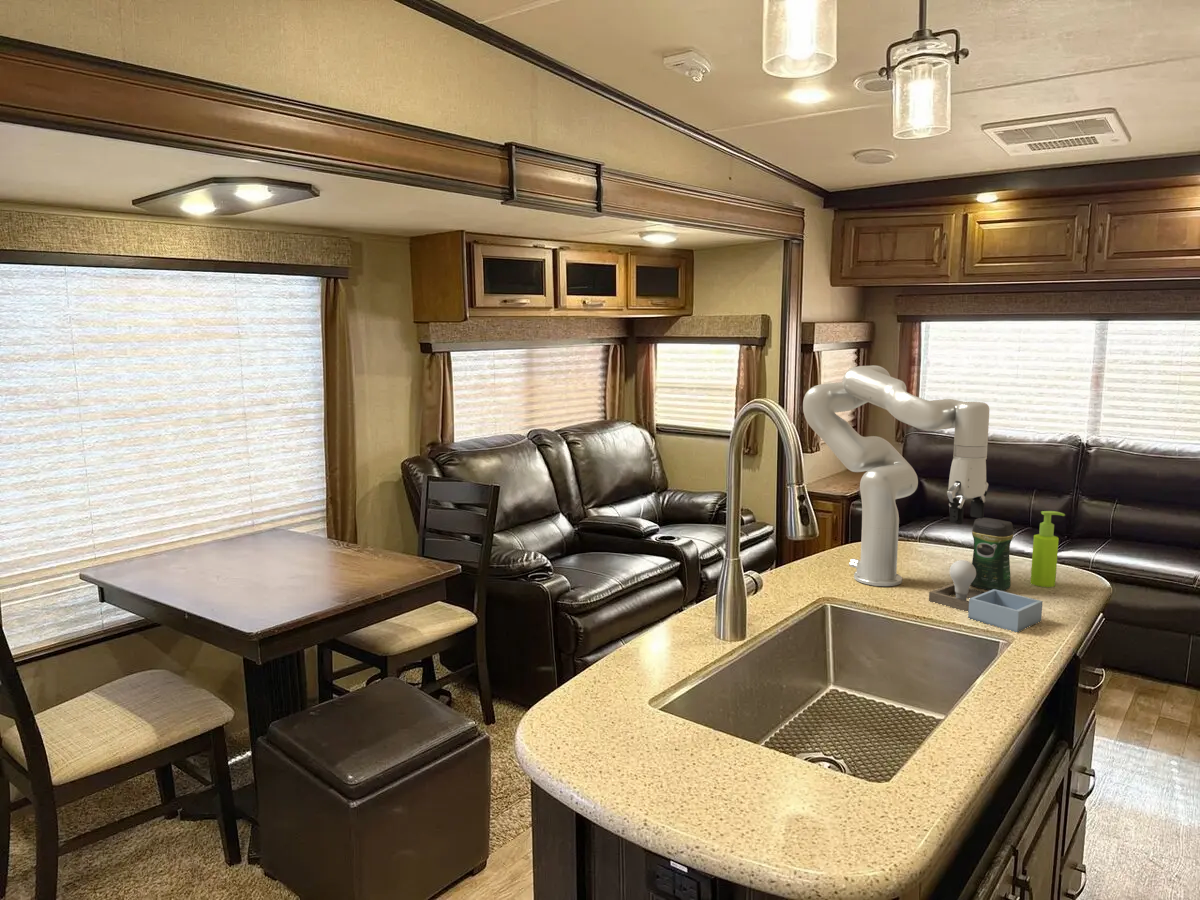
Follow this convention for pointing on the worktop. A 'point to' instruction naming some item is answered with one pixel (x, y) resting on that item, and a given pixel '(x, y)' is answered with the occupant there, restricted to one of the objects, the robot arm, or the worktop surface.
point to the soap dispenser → (1045, 553)
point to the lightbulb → (962, 577)
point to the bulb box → (1005, 610)
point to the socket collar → (944, 597)
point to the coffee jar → (992, 553)
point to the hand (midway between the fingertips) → (966, 520)
